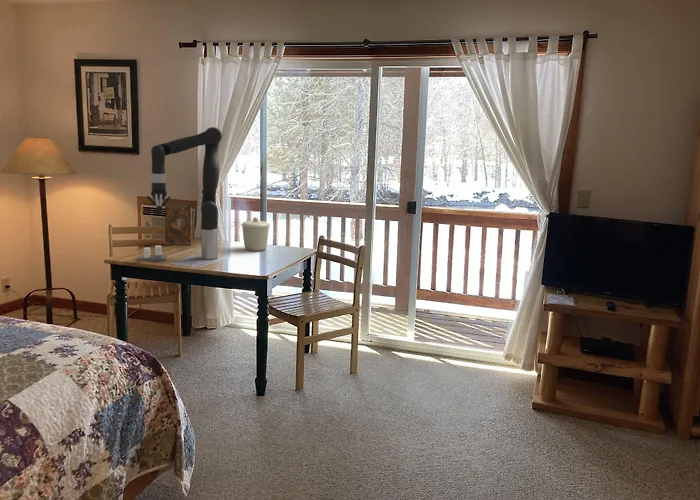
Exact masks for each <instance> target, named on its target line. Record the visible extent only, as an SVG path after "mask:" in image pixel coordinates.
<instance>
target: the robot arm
mask: <svg viewBox="0 0 700 500" xmlns="http://www.w3.org/2000/svg"><path fill="white" fill-rule="evenodd" d="M222 138H223V133H222V131H221V130H220V129H219V128H217V127H214V126H212V127H208V128H207V129H206V130H205V131H203V132H200V133H198V134H195V135H190V136H185V137H181V138H178V139H174V140H170V141H168V142H163V143H160V144H156V145H153V146H152V147H151V148H150V153H151V163H152V164H151V179H150V181H151V191H150V194H149V195H147V199H148V200H149V202H150V203H151V204H152V205H153V206H155V207H156V212H157V213H158V214H161V213H162V212H163V206H165V205H166V204H168V202H169V200H171V196H170V195H169V194H168V192H167V179H166V165H165V162H166V158H165V157H166V156H169V155H173V154H174V155H175V154H178V153H181V152H185V151H188V150H191V149H194V148H197V147H199V146H200V147H201V146H204V157H203V163H202V164H203V165H202V199H201V205H200V213H201V215H200V216H201V218H200V219H201V223H200V235H201V237H200V240H201V241H200V244H201V245H200V249H201V250H200V251H201V253H200V255H201V259H203V260H216V259H217V260H218V252H219V251H218V225H219V223H218V222H219V209H218V206H217V199H216V198H217V189H218V186H219V185H218V184H219V180H220V161H219V159H220V158H219V146H220V142H221V141H222ZM164 199H165V200H164ZM163 200H164V202H163Z"/></svg>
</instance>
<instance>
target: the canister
mask: <svg viewBox="0 0 700 500" xmlns="http://www.w3.org/2000/svg"><path fill="white" fill-rule="evenodd" d="M240 225H241V228H242V237H243V238H242V239H243V244H244V248H245V249H246V250H247V251H251V252H262V251H264V250H266V248H267V245H268V238H269V231H270V230H269V229H270V226H271V224H270V223H268V221H263V220H259V217H256V216H254V217H253V218H252V220H247V221H243V222H242V223H241V224H240Z"/></svg>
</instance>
